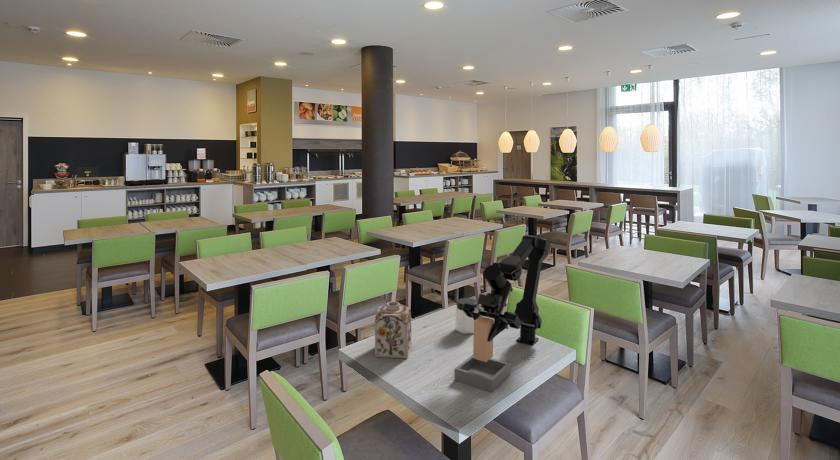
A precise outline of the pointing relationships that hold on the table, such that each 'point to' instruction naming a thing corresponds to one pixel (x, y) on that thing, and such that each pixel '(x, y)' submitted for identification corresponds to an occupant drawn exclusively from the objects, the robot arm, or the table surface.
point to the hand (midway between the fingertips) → (481, 339)
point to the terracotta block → (482, 339)
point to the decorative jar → (393, 331)
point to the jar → (464, 317)
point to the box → (482, 373)
